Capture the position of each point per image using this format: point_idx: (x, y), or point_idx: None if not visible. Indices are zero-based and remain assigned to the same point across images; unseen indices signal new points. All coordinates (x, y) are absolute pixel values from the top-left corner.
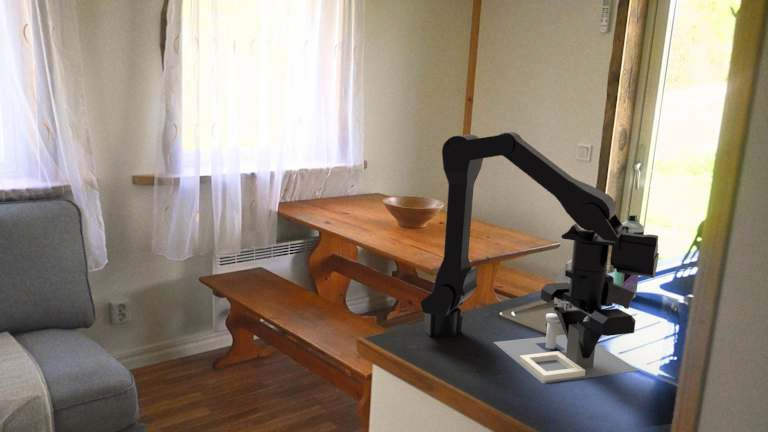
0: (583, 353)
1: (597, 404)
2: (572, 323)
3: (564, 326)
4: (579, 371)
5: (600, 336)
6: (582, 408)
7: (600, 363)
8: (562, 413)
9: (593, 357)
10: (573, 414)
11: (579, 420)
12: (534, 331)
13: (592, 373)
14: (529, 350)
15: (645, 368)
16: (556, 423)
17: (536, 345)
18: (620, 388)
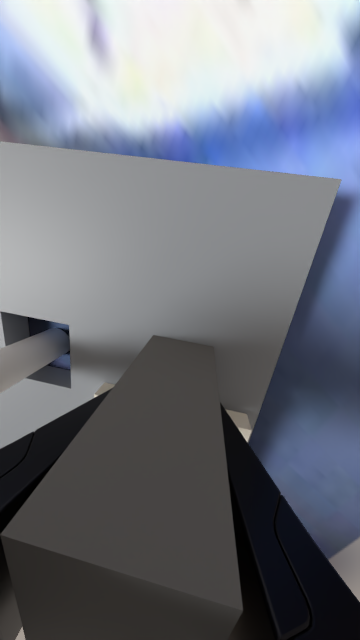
0: None
1: (338, 444)
2: (2, 607)
3: None
4: None
5: (346, 591)
6: (326, 481)
7: (201, 295)
8: (313, 520)
9: (215, 369)
10: (331, 509)
11: (356, 518)
12: None
13: (247, 382)
14: (51, 419)
15: (270, 57)
16: (332, 549)
17: (22, 380)
18: (321, 323)
